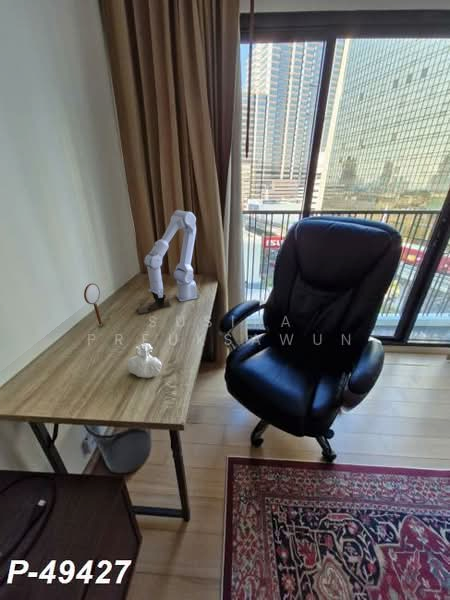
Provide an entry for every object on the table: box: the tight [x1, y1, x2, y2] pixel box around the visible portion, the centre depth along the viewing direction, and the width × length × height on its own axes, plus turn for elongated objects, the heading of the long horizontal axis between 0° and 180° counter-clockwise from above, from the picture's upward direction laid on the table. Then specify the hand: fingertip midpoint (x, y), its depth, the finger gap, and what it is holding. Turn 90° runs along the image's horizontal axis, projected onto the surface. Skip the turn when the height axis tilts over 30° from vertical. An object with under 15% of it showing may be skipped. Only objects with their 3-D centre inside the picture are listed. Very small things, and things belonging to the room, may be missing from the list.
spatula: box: [137, 298, 171, 315], centre depth 123 cm, size 15×5×3 cm, turn 116°
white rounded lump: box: [127, 342, 163, 379], centre depth 83 cm, size 12×8×11 cm
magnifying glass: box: [83, 283, 103, 327], centre depth 106 cm, size 9×2×20 cm, turn 169°
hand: (159, 304), depth 124 cm, fingers open, 6 cm apart
